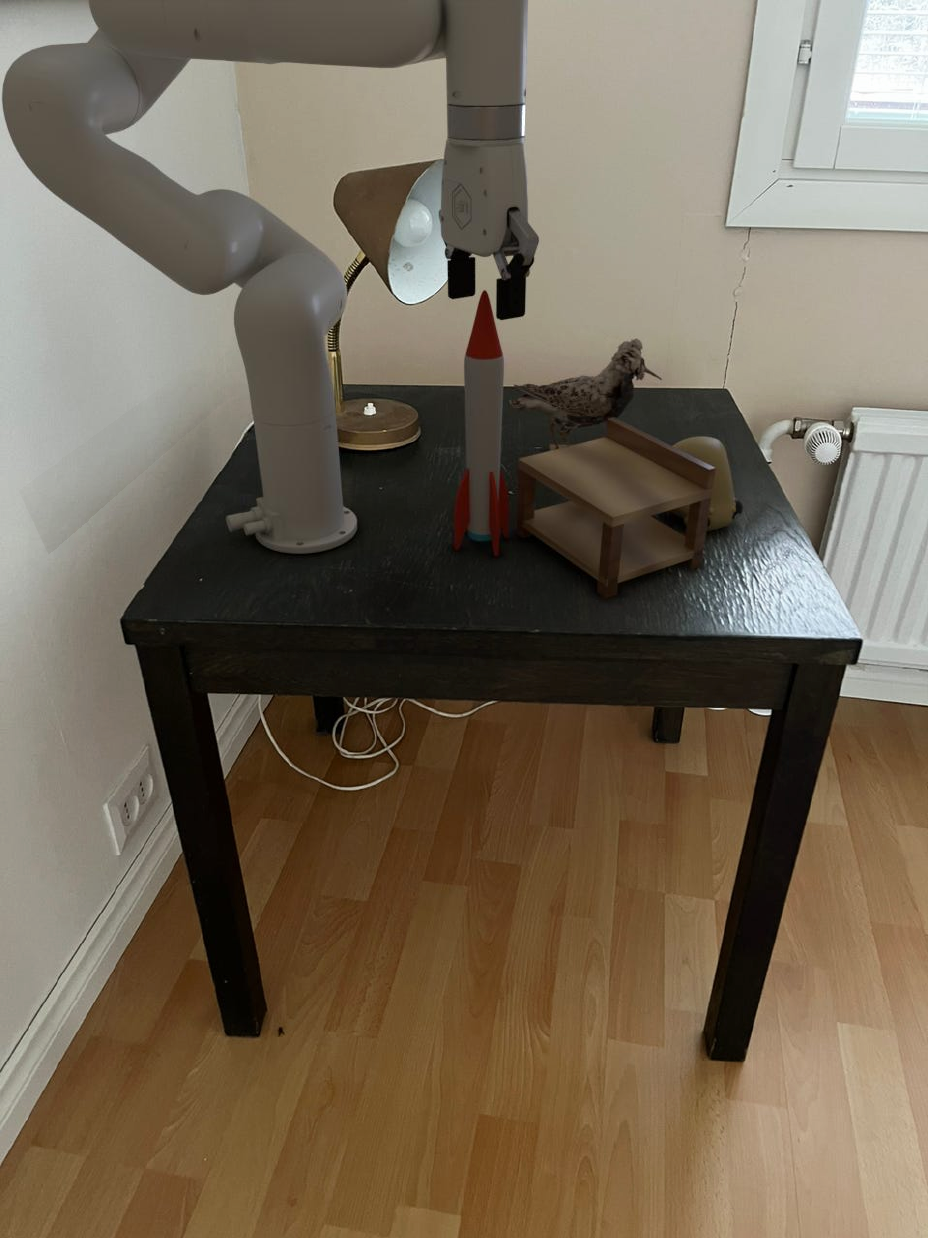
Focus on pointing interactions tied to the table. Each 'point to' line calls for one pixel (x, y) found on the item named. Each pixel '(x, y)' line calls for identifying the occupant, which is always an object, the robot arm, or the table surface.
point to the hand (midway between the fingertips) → (485, 306)
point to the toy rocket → (483, 436)
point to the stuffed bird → (587, 393)
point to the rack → (617, 504)
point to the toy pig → (722, 498)
